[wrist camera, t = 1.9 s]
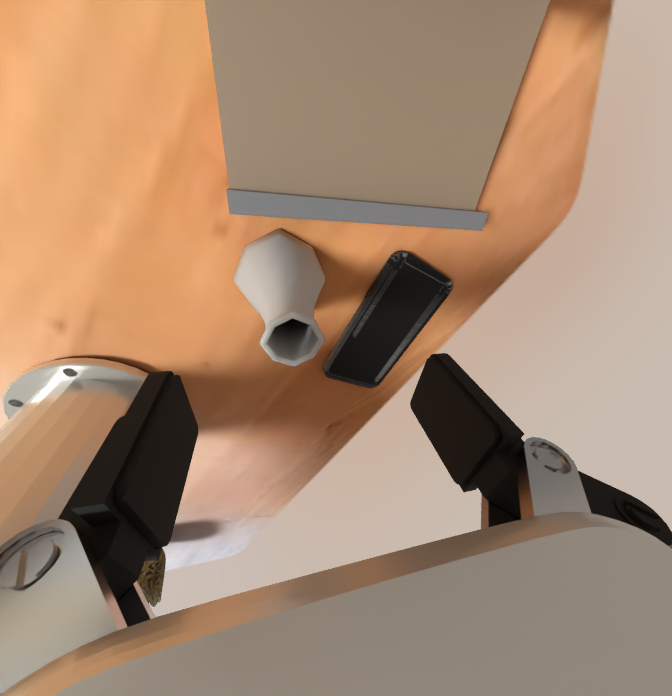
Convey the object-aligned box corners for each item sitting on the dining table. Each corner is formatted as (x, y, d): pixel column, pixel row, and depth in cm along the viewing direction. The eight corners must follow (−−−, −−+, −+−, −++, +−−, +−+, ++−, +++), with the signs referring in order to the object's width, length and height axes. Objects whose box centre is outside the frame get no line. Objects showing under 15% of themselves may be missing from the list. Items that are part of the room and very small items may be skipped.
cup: (115, 530, 36) (84, 607, 30) (174, 522, 38) (157, 591, 32) (124, 550, 40) (97, 622, 33) (177, 542, 42) (162, 607, 36)
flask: (339, 276, 22) (383, 335, 14) (284, 329, 24) (295, 408, 16) (277, 208, 18) (289, 237, 10) (215, 278, 20) (185, 350, 12)
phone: (456, 283, 25) (375, 390, 31) (450, 280, 25) (372, 383, 32) (399, 247, 21) (320, 375, 27) (393, 244, 22) (318, 369, 28)
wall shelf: (453, 223, 22) (532, 244, 15) (234, 207, 17) (219, 227, 11) (540, -43, 14) (769, -219, 8) (185, -195, 10) (34, -912, 3)
